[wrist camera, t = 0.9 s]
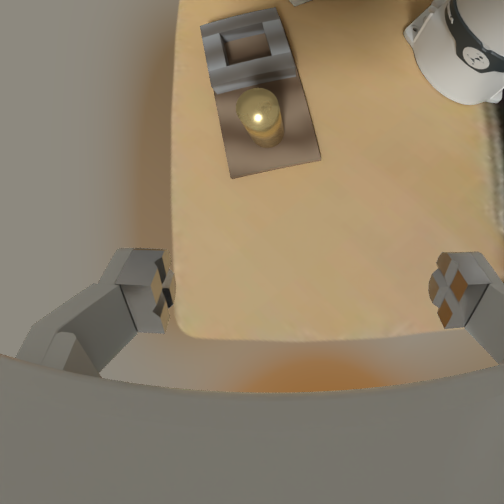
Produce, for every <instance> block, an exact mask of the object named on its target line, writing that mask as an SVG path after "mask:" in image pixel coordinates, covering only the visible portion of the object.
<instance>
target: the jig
mask: <svg viewBox="0 0 504 504" xmlns="http://www.w3.org/2000/svg"><path fill="white" fill-rule="evenodd" d="M200 29H201V34H202V39H203V45H204V50H205V55H206V61H207V66H208V71H209V76H210V82H211V87H212V88H213V90H214V95H215V100H216V106H217V111H218V116H219V121H220V126H221V131H222V136H223V141H224V146H225V151H226V157H227V162H228V167H229V172H230V177H231V178H232V179H235V178H239V177H243V176H248V175H252V174H257V173H261V172H266V171H270V170H275V169H280V168H285V167H290V166H295V165H300V164H305V163H310V162H316V161H321V157H320V153H319V149H318V145H317V141H316V137H315V133H314V129H313V125H312V121H311V117H310V114H309V110H308V106H307V103H306V99H305V96H304V92H303V89H302V85H301V82H300V78H299V75H298V72H297V68H296V65H295V62H294V58H293V55H292V52H291V49H290V46H289V43H288V40H287V37H286V34H285V31H284V28H283V25H282V22H281V19H280V16H278V13H277V10H276V7H275V8H270V9H264V10H260V11H255V12H250V13H246V14H242V15H238V16H234V17H230V18H226V19H222V20H219V21H215V22H212V23H208V24H205V25H202V26H200ZM252 88H264V89H267V90H269V91H271V92H272V93H273V94H274V95H275V96H276V98H277V100H278V104H279V109H280V113H281V118H282V122H283V127H284V137H283V139H282V141H281V142H280V143H279V144H278V145H277V146H275V147H272V148H263V147H260V146H258V145H257V144H256V143H255V142H254V141H253V139H252V138H251V136H250V135H249V133H248V132H247V130H246V128H245V127H244V125H243V124H242V122H241V121H240V119H239V117H238V116H237V113H236V103H237V100H238V98H239V97H240V96H241V95H242V94H243V93H244V92H245V91H247V90H249V89H252Z"/></svg>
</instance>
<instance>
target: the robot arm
mask: <svg viewBox="0 0 504 504" xmlns="http://www.w3.org/2000/svg"><path fill="white" fill-rule="evenodd" d="M414 30H415V31H416V32H415V31H414ZM403 34H404V37H405V38H406V40H407V41H408V43H409V44H410V45H411V47H412V48H413V51H414V54H415V58H416V61H417V64H418V66H419V68H420V70H421V72H422V73H423V75H424V76H425V78H426V79H427V80H428V81H429V83H430V84H431V85H432V86H433V87H434V88H435V89H436V90H438V91H439V92H440V93H441V94H443V95H444V96H446V97H447V98H449V99H451V100H453V101H455V102H458V103H461V104H465V105H475V104H479V103H481V102H485V101H487V102H492V103H498V102H499V101H500V100H501V99H502V89H503V88H504V0H433V2H432V3H431V5H430V6H429V7H428V8H427V9H426V10H425V11H424V12H423V13H422V14H421V15H420V16H419V17H417V18H416V19H415V20H414V21H413V22H412V23H411V24H410V25H409V26H408V27H407V28H406V29H405V30H404V32H403ZM170 264H171V257H170V252H169V251H168V250H167V249H148V248H135V249H134V248H119V249H117V250H116V252H115V253H114V255H113V257H112V259H111V261H110V262H109V264H108V266H107V267H106V269H105V271H104V273H103V275H102V276H101V278H100V280H99V282H98V284H92V285H90V286H89V287H87V288H86V289H84V290H83V291H81V292H80V293H78V294H77V295H75V296H74V297H72V298H71V299H69V300H68V301H66V302H65V303H63V304H62V305H61V306H59V307H58V308H56V309H55V310H53V311H52V312H51V313H49V314H48V315H46V316H45V317H43V318H42V319H41V320H39V321H38V322H36V323H35V324H34V325H33V326H32V327H31V329H30V331H29V333H28V334H27V337H26V338H25V340H24V342H23V344H22V346H21V348H20V349H19V352H18V353H17V355H16V357H15V358H13V357H9V356H6V355H3V354H0V504H504V283H503V282H502V281H501V279H500V278H499V277H498V275H497V274H496V272H495V271H494V269H493V268H492V267H491V265H490V264H489V263H488V261H487V260H486V258H485V257H484V256H483V254H481V253H480V252H442V253H441V255H440V256H439V258H438V260H437V267H438V269H437V270H436V271H435V272H434V273H433V274H432V275H431V278H430V281H429V289H428V291H429V296H430V299H431V301H432V303H433V304H434V305H436V306H437V307H438V308H439V309H438V312H437V314H438V316H439V318H440V320H441V322H442V325H443V327H444V329H449V328H460V327H465V329H466V330H467V331H468V332H469V333H470V334H471V335H472V336H473V337H474V338H475V339H476V341H477V342H478V343H479V344H480V345H481V346H482V347H483V348H484V349H485V350H486V351H487V352H488V353H489V354H490V355H491V356H492V357H493V358H494V360H495V361H496V362H497V363H498V364H499V365H498V366H494V367H490V368H486V369H482V370H477V371H473V372H469V373H464V374H459V375H454V376H450V377H444V378H439V379H433V380H427V381H421V382H414V383H408V384H401V385H393V386H385V387H375V388H365V389H354V390H341V391H324V392H301V393H300V392H298V393H249V392H246V393H244V392H222V391H204V390H191V389H179V388H169V387H160V386H151V385H143V384H136V383H129V382H123V381H116V380H110V379H104V378H102V377H101V376H100V374H99V372H100V371H101V370H102V369H103V368H104V367H105V366H106V365H107V364H108V363H109V362H110V361H111V360H112V359H113V358H114V357H115V356H116V355H117V354H118V353H119V352H120V351H121V350H122V349H123V348H124V347H125V346H126V345H127V344H128V343H129V342H130V341H131V340H132V339H133V338H134V337H135V336H136V335H137V332H144V333H163V334H165V332H166V329H167V325H168V321H169V318H170V314H169V310H168V308H170V307H171V306H172V305H173V304H174V300H175V293H176V281H175V275H174V273H173V272H172V271H171V270H170V269H169V267H170Z"/></svg>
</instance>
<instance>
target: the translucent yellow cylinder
mask: <svg viewBox="0 0 504 504" xmlns="http://www.w3.org/2000/svg"><path fill="white" fill-rule="evenodd" d="M236 113H237V116H238V117H239V119H240V121H241V122H242V124H243V125H244V127H245V128H246V130H247V132H248V133H249V135H250V136H251V138H252V139H253V141H254V142H255V143H256V144H257V145H258V146H260V147H263V148H272V147H275V146H277V145H278V144H279V143H280V142H281V141H282V139H283V137H284V127H283V122H282V118H281V113H280V109H279V104H278V100H277V98H276V96H275V95H274V94H273V93H272V92H271V91H269V90H267V89H264V88H252V89H249V90H247V91H245V92H244V93H243V94H242V95H241V96H240V97H239V98H238V100H237V103H236Z"/></svg>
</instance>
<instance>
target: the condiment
mask: <svg viewBox="0 0 504 504" xmlns="http://www.w3.org/2000/svg"><path fill="white" fill-rule="evenodd" d="M289 1H290V2H291V3H292V4H293V5H294V6H297V5H300V4H303V3H306V2H309V1H311V0H289Z"/></svg>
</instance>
